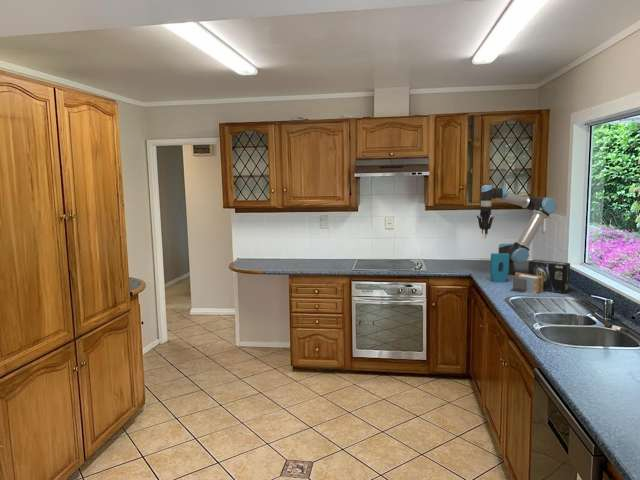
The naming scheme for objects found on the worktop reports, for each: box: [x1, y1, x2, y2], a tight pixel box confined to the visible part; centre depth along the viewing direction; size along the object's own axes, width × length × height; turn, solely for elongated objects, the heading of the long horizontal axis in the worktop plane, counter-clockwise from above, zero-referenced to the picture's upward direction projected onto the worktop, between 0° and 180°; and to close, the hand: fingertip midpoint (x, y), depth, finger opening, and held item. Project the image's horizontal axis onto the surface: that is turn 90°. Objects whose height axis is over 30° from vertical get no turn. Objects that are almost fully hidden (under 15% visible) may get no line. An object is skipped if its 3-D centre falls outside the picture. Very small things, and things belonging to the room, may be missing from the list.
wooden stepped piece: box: [514, 271, 544, 295], centre depth 304 cm, size 10×19×10 cm, turn 40°
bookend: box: [509, 277, 526, 294], centre depth 301 cm, size 4×8×8 cm, turn 40°
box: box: [527, 259, 571, 294], centre depth 304 cm, size 23×10×19 cm, turn 46°
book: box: [518, 273, 538, 294], centre depth 302 cm, size 5×12×10 cm, turn 40°
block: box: [489, 252, 510, 283], centre depth 330 cm, size 12×5×20 cm, turn 90°
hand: (484, 238), depth 341 cm, fingers closed
